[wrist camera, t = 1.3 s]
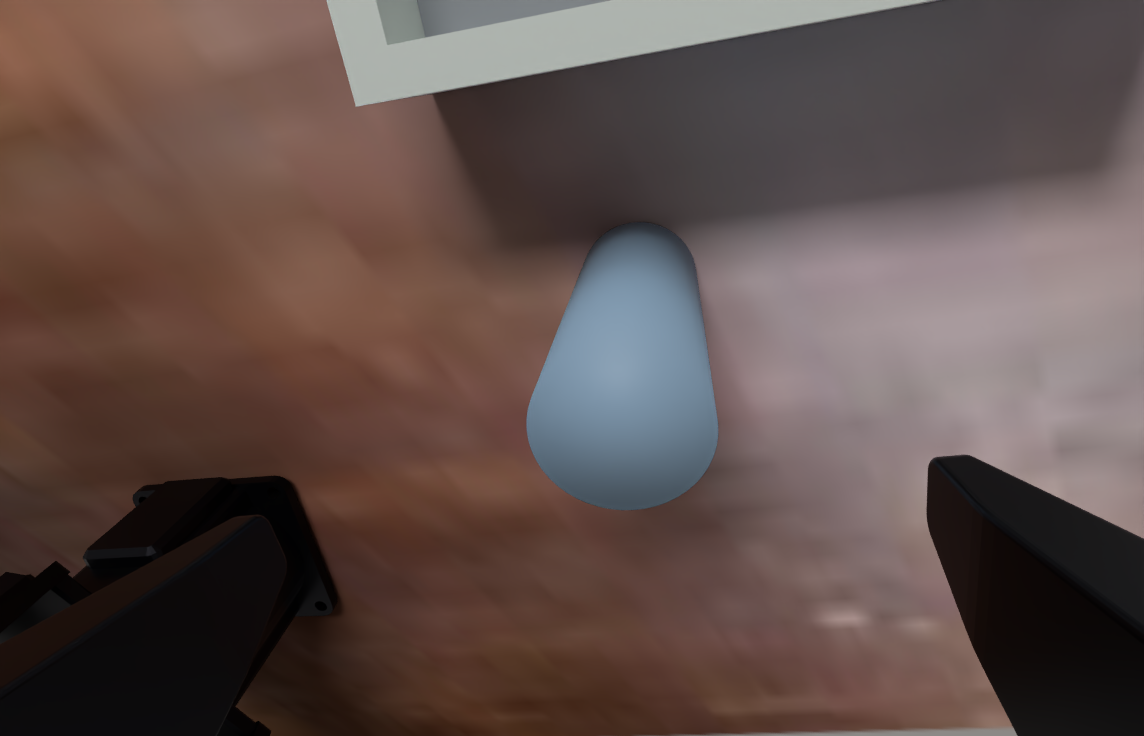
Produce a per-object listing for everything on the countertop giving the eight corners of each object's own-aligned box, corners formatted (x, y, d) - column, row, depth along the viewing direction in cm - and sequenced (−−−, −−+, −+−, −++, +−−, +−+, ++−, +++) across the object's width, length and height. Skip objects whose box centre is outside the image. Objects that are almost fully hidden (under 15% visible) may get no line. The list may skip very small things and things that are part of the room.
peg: (701, 325, 20) (725, 504, 12) (591, 337, 21) (545, 515, 13) (690, 214, 19) (710, 333, 11) (573, 230, 20) (509, 354, 11)
